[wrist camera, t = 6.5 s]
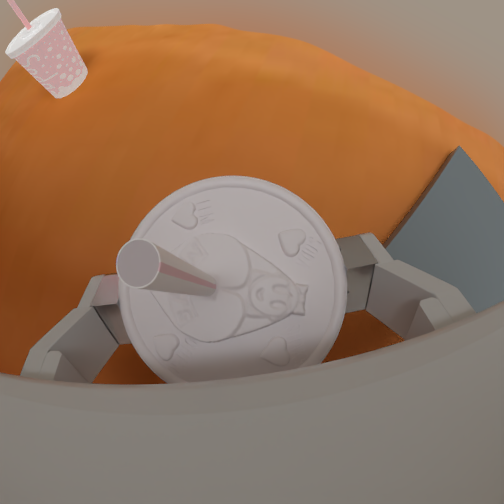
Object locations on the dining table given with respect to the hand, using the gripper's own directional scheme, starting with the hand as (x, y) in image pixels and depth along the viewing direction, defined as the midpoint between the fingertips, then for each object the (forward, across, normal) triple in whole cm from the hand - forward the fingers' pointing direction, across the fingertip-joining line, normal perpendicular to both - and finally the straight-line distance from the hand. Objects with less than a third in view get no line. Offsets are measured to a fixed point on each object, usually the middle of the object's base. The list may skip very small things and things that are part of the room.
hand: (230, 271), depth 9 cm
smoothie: (+5, 0, +6) cm, 8 cm away
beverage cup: (+22, +15, -10) cm, 29 cm away
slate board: (+3, -18, +8) cm, 20 cm away
